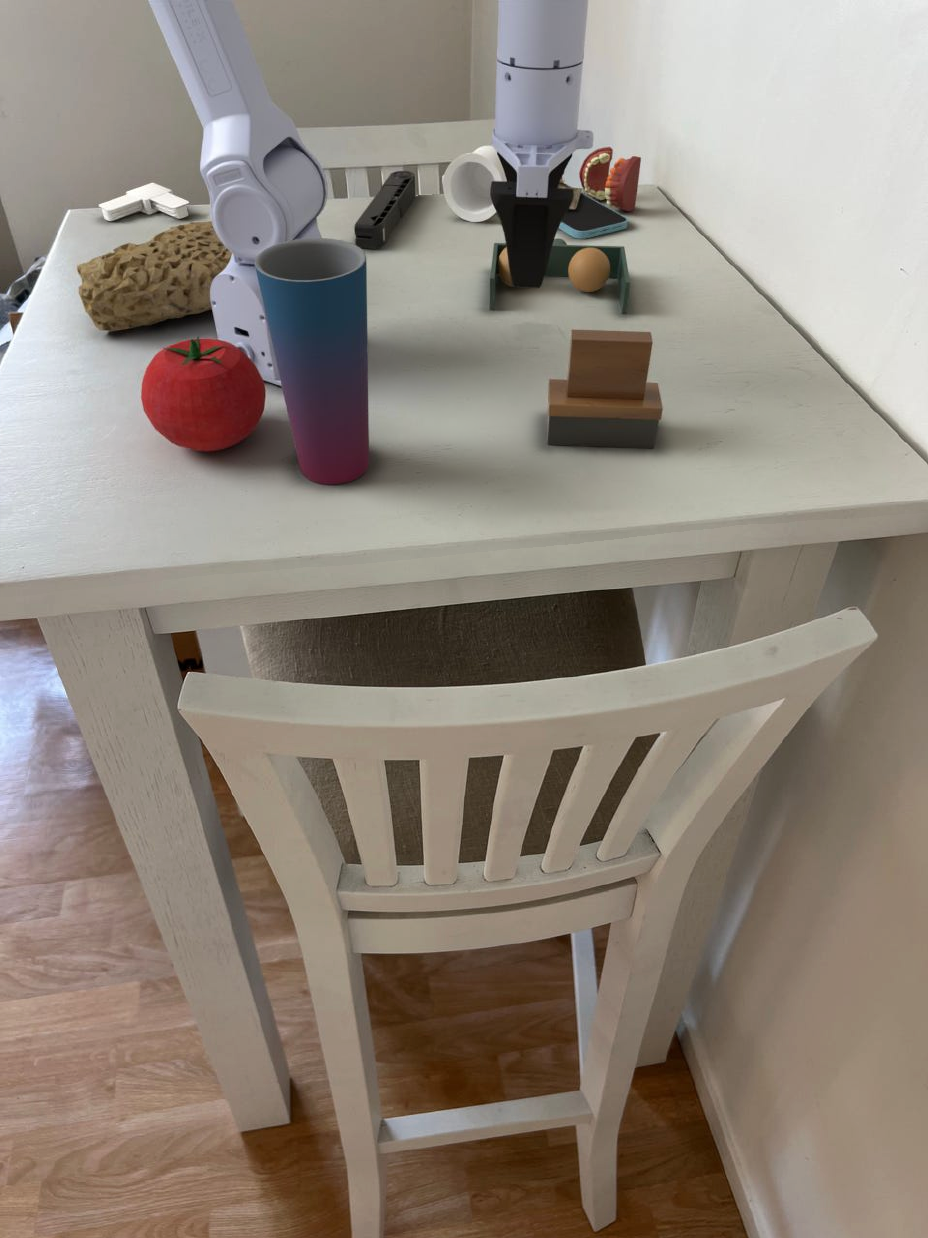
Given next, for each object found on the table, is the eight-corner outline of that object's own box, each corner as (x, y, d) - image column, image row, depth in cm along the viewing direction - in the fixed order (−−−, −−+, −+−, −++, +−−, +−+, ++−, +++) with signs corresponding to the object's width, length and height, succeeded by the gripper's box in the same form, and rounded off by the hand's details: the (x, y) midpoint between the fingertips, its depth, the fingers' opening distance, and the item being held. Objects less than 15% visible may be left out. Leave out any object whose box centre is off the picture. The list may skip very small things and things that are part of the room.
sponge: (110, 364, 78) (320, 284, 81) (63, 276, 74) (288, 194, 76) (109, 327, 89) (295, 258, 91) (68, 248, 84) (265, 177, 86)
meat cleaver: (592, 206, 99) (550, 202, 98) (590, 217, 100) (547, 213, 99) (570, 164, 107) (530, 160, 106) (567, 175, 108) (528, 170, 107)
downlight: (503, 228, 99) (527, 202, 106) (510, 160, 94) (535, 138, 101) (436, 215, 101) (464, 191, 108) (439, 148, 96) (468, 127, 103)
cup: (268, 475, 64) (231, 267, 53) (322, 431, 68) (297, 230, 58) (348, 502, 61) (325, 289, 51) (398, 454, 66) (387, 249, 55)
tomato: (287, 453, 66) (271, 352, 60) (168, 482, 63) (140, 380, 58) (254, 398, 72) (237, 302, 66) (143, 423, 69) (115, 325, 63)
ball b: (504, 293, 85) (531, 259, 83) (482, 263, 86) (507, 230, 84) (527, 298, 88) (553, 266, 86) (505, 270, 89) (530, 237, 87)
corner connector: (135, 222, 96) (139, 237, 97) (195, 199, 100) (198, 214, 102) (93, 203, 100) (97, 217, 101) (152, 182, 104) (156, 196, 105)
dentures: (574, 149, 102) (620, 167, 97) (602, 142, 103) (649, 159, 98) (571, 200, 106) (615, 220, 101) (599, 193, 107) (643, 211, 102)
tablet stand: (393, 168, 105) (417, 170, 105) (394, 192, 107) (418, 193, 107) (352, 224, 93) (380, 226, 92) (354, 249, 94) (381, 251, 94)
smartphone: (578, 233, 96) (505, 188, 105) (577, 243, 96) (504, 198, 105) (632, 220, 98) (555, 178, 107) (631, 230, 99) (555, 187, 108)
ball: (591, 278, 89) (602, 304, 87) (556, 270, 87) (567, 296, 85) (610, 243, 86) (622, 269, 84) (575, 234, 84) (586, 260, 82)
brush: (655, 449, 66) (673, 350, 61) (545, 445, 67) (553, 346, 61) (651, 422, 69) (667, 325, 64) (545, 419, 69) (553, 321, 64)
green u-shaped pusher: (626, 313, 83) (630, 282, 81) (489, 309, 84) (490, 278, 82) (618, 264, 91) (622, 234, 89) (494, 260, 92) (495, 231, 90)
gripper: (604, 89, 53) (582, 308, 63) (597, 37, 64) (579, 231, 73) (487, 85, 54) (482, 304, 63) (498, 34, 64) (493, 228, 73)
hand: (528, 264), depth 68 cm, fingers open, 7 cm apart
